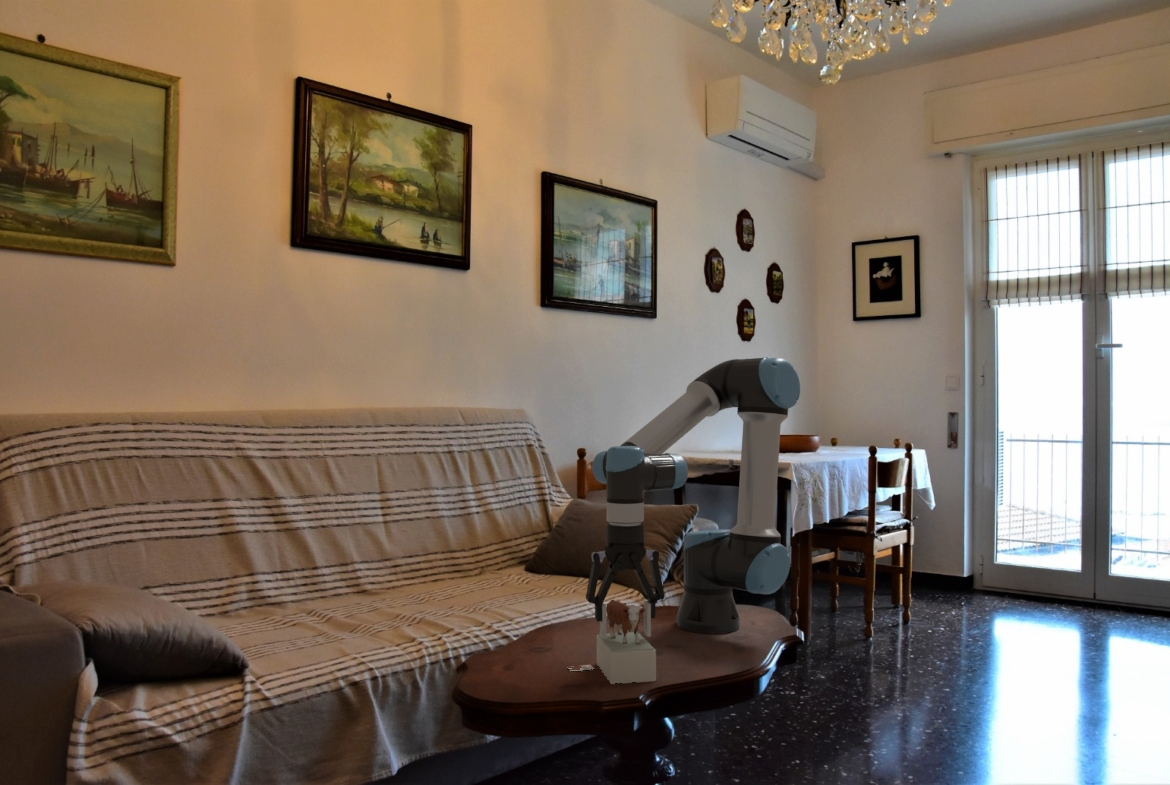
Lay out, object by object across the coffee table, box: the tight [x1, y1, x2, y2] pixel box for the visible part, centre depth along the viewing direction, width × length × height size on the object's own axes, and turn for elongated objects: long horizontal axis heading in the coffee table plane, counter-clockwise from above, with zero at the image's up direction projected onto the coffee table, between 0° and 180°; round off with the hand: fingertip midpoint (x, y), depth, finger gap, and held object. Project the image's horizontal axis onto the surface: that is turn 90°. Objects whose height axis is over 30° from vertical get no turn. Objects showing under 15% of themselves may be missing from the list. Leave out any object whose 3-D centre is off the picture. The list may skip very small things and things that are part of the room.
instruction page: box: [566, 664, 596, 672], centre depth 178 cm, size 5×3×1 cm, turn 110°
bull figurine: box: [606, 599, 645, 644], centre depth 176 cm, size 4×13×8 cm, turn 21°
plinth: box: [596, 631, 657, 685], centre depth 176 cm, size 9×13×6 cm
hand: (625, 635), depth 176 cm, fingers open, 8 cm apart
